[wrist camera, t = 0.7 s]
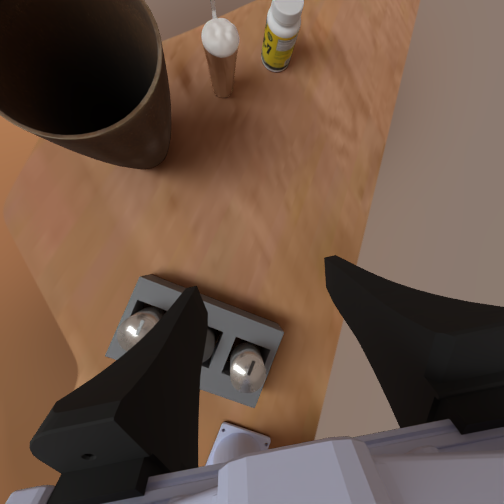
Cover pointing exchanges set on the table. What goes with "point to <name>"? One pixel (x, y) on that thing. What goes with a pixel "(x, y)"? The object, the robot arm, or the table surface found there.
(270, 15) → the supplement bottle
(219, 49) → the milkshake
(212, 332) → the knob middle
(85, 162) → the table surface
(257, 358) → the knob
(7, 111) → the plant pot
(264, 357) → the control panel
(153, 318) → the knob
